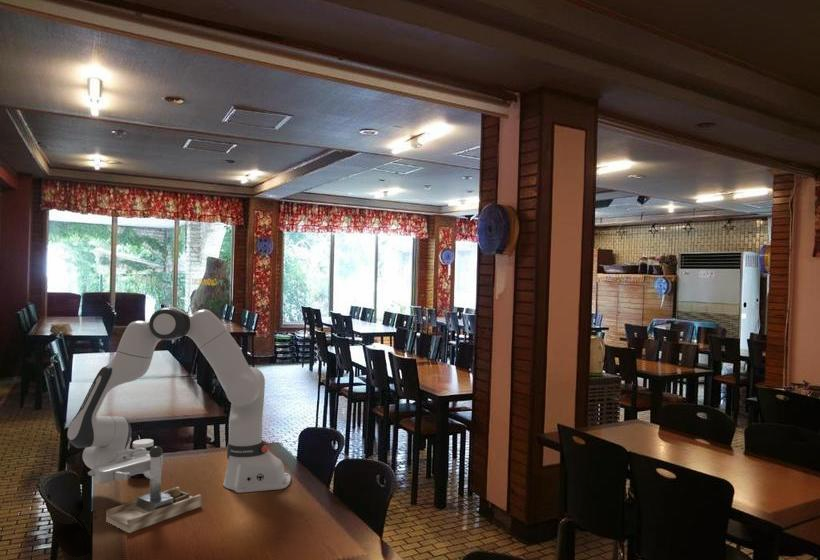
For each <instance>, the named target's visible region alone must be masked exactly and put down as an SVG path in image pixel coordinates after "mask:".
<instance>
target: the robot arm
mask: <svg viewBox="0 0 820 560" xmlns="http://www.w3.org/2000/svg"><path fill="white" fill-rule="evenodd" d="M149 318H150V319H149V321H146V320H134V321H132V322H130V323H129V324H128V325H127V326H126V328H125V330H124V332H123V334H122V336H121V338H120V341H119V343H118V345H117V348H116V352H115V354H114V356H113V358H112V359H111V360H110V362H108V364H106V366H103V367H102V368H101V369H100V370H99V371H98V373H97V374H96V375H95V377H94V379H93V381H92V383H91V385H90V387H89V389H88V391H87V393H86V395H85V398H84V400H83V402H82V403H81V404H80V407H79V409H78V411H77V413H76V415H75V416H74V418H73V419H72V420H71V421H70V423H69V425H68V428H67V431H66V438H67V440H68V441H69V443H70V444H71V445H72V446H73V447H75V448H76V449H83V452H82V461H83V462H84V465H85V466H86V467H87V468H89V469H90V471H87V474H88V475H87V476H91V477H93V480H94V481H96V482H98V483H99V484H107V483H111V482H114V481H115V482H116V481H119V480H124V481H127V480H131V477H133V476H132V475H136V474H139V473H143V472H146V471H150V455H149V452H150V451H146V448H136V449H132V448H129V449H126V447H127V445H128V443H129V441H130V438H131V439H132V426H131V424H130V422H129V420H128V419H127V418H126V417H125V416H117V415H98V412H99V411H100V408H101V406H102V405H103V402H104V400H105V399H106V396H107V395H108V393H109V392H110V391H111V390H113V389H114V388H116V387H118V386H120V385H123V384H126V383H130V382H133V381H137V380H138V379H140V378H142V377H143V376H144V375H146V373H147V372H148V370H149V368H150V366H151V363H152V360H153V356H154V354H155V353H154V352H155V349H156V347H157V346H158V343H159V342H161V341H176V340H178V339H181V338H183V337H184V336H187V337H188V338H190V339H191V340H192V341H193V342H194V343H195V345H196V347H197V348H198V349H199V351H200V352H201V354H202V355H203V357H204V358H205V359H206V361H207V362H208V364H209V365H210V367H211V368H212V370H213V371H214V373H215V376H216V377H217V380H218V382H219V384H220V386H221V387H222V389H223V390H224V392H225V395H226V399H228V402H230V403H231V404H230V411H229V417H228V442H227V445H226V457H227V458H226V459H227V465H226V471H225V476H224V479H223V480H224V481H223V484H222V486H223V487H225V488H226V489H229V490H232V491H234V492H235V493H239V494H241V493H249V492H250V493H253V492H262V491H273V490H282V489H285V488H287V487H288V486H289V485H290V484H291V478H292V477H291V474H290V473H288V472H285V467H284V464H283V461H282V460H281V459H280V458H278V457H276V456H275V455H274V454H273V453H271V452H270V451H269V442H268V440H267V441H264V439H263V415H264V406H265V405H264V403H265V389H266V388H265V387H266V386H265V384H266V381H265V380H266V379H265V375H264V373H263V372H262V371H261V370H260V369H259V368H257V367H254V366H249V363H248V362H247V359H246V358H245V355H244V354H243V353H244V352H243V351H242V349H241V347H240V345H239V344H238V342H236V340H235V339H234V336H232V335H231V333H230V331H229V330H228V329H227V327H226V326H225V325H224V323H223V322H222V321H221V320H220V319H219V318H218V317H217V316H216V314H214V313H213V312H212V311H211V310H209V309H206V308H205V309H199V310H197V311H194V312H192V313H191V314H189V313H188V312H187V311H185V310H184V309H182V308H179V307H175V306H166V307H161V308H159V309H157V310H156V311H154V313H152V314H151V316H150V317H149ZM130 442H131V441H130ZM163 464H164V456H163V454H162V455H161V467H162V468H163Z"/></svg>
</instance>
